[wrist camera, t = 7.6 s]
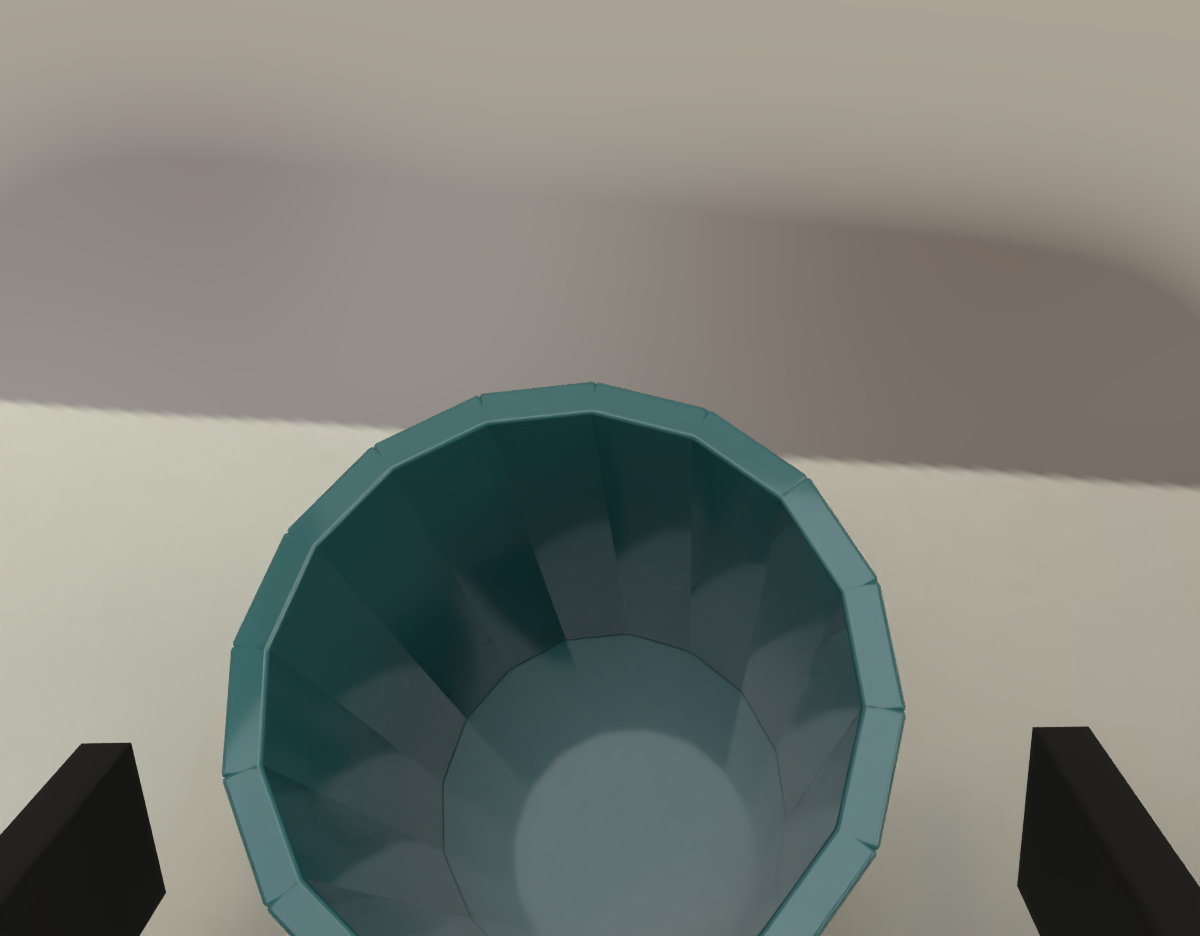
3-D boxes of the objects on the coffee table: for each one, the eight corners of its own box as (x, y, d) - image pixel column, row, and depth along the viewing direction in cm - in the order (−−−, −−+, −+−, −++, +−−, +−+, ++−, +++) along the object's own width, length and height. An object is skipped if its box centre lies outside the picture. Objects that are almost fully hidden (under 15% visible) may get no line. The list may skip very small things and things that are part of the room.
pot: (841, 682, 23) (956, 467, 13) (750, 1080, 20) (811, 1188, 10) (503, 585, 25) (380, 327, 15) (370, 940, 22) (102, 914, 12)
